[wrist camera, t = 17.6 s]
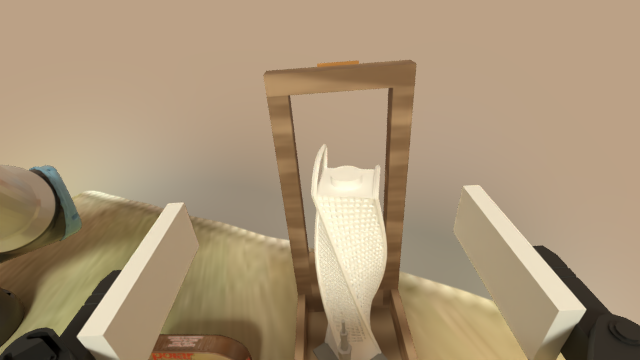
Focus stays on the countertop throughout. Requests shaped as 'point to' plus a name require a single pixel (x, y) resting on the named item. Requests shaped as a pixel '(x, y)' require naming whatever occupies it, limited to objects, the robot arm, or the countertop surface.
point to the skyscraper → (348, 257)
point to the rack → (386, 302)
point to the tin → (198, 348)
